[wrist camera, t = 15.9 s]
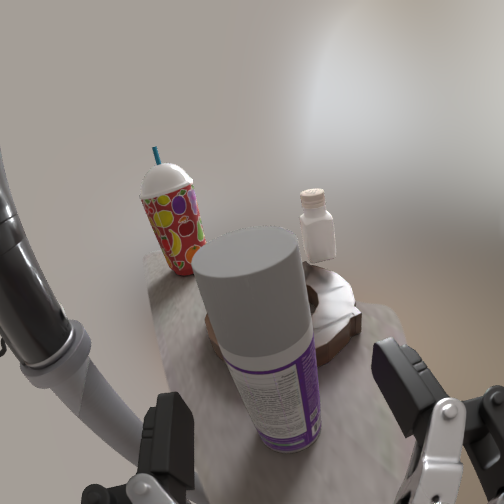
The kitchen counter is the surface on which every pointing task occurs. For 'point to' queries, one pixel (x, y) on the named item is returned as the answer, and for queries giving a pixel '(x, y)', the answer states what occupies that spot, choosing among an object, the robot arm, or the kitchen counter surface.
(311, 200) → the pepper shaker
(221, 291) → the container
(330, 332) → the collar
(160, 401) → the robot arm
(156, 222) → the smoothie
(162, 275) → the kitchen counter surface
